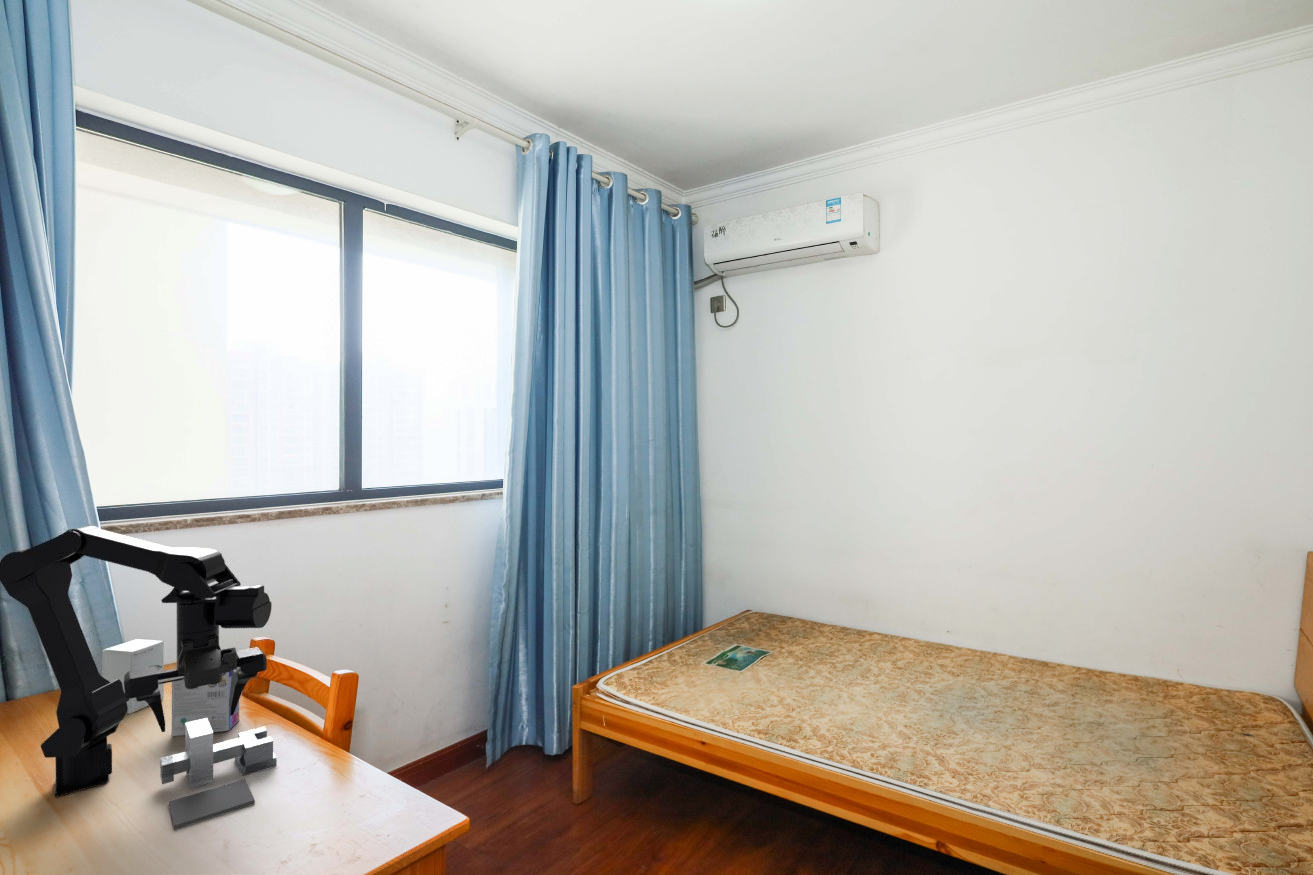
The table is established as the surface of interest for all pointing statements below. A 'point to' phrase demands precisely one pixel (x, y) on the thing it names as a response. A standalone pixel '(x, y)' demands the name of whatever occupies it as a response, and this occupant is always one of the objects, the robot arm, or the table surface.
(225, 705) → the ink cartridge box
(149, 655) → the supplement box
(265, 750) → the vise
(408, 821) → the table surface
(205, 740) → the brushed aluminum pillar
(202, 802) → the mat
